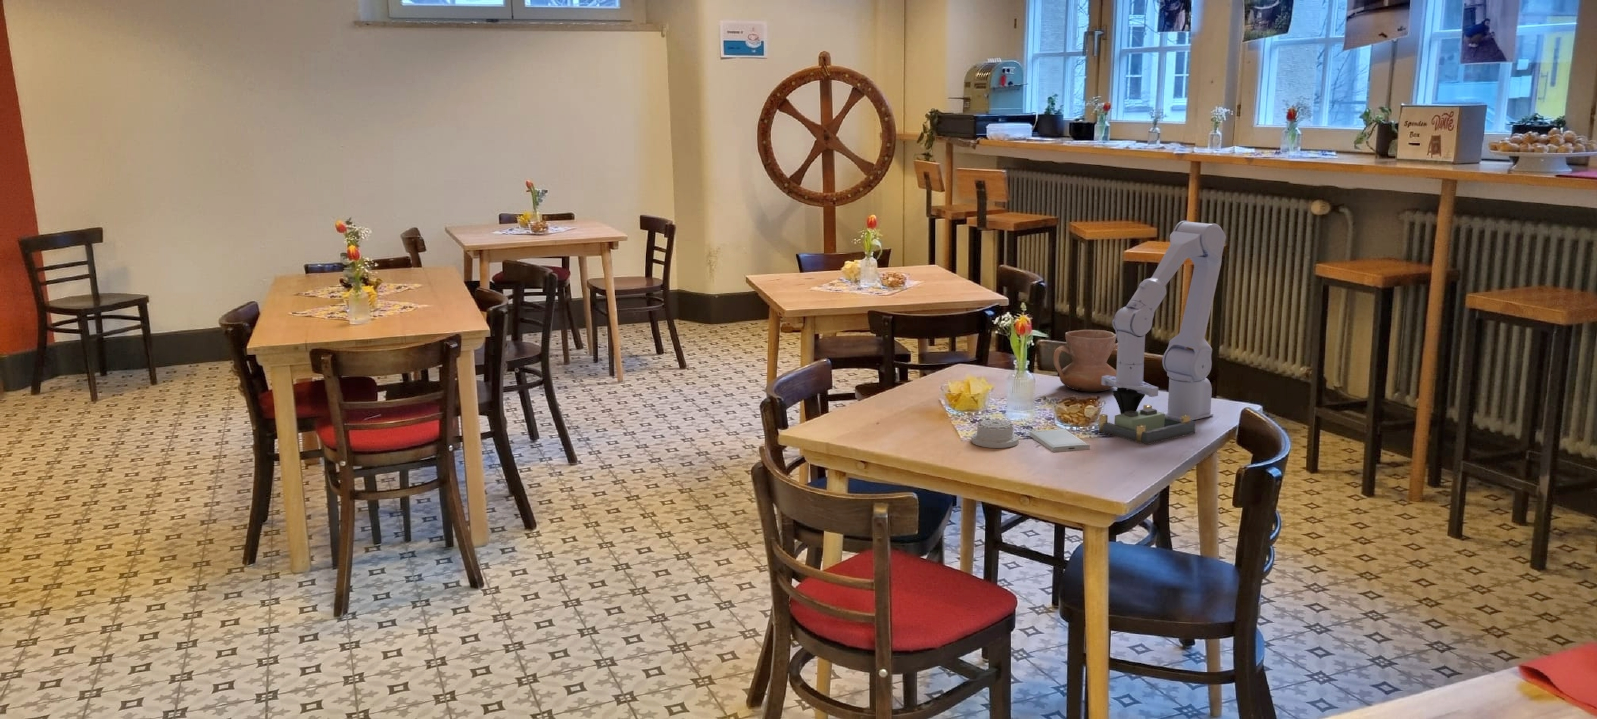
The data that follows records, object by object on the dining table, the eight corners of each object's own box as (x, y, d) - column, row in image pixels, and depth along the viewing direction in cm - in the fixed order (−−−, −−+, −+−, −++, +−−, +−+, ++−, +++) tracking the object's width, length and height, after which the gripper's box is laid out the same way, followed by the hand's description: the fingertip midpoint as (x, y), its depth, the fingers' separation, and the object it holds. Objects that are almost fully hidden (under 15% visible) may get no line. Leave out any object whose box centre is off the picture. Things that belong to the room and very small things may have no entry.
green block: (1146, 426, 258) (1147, 405, 257) (1164, 431, 254) (1165, 410, 253) (1114, 433, 253) (1114, 411, 252) (1131, 438, 249) (1132, 416, 248)
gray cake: (1028, 442, 247) (989, 434, 254) (1028, 422, 246) (990, 414, 253) (1000, 452, 240) (961, 443, 247) (1000, 431, 239) (962, 423, 246)
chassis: (1146, 419, 262) (1147, 404, 262) (1195, 432, 251) (1196, 417, 250) (1096, 430, 254) (1097, 415, 253) (1145, 444, 243) (1146, 428, 242)
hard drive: (1029, 430, 251) (1053, 446, 239) (1065, 428, 252) (1090, 443, 240) (1029, 438, 251) (1052, 454, 239) (1064, 435, 253) (1089, 451, 241)
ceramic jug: (1110, 380, 300) (1112, 326, 297) (1132, 393, 286) (1134, 337, 283) (1042, 383, 298) (1044, 329, 295) (1061, 397, 284) (1063, 340, 281)
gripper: (1092, 358, 258) (1090, 417, 261) (1143, 370, 246) (1140, 432, 249) (1115, 354, 261) (1112, 413, 264) (1166, 366, 249) (1163, 427, 252)
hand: (1127, 422), depth 257 cm, fingers closed
